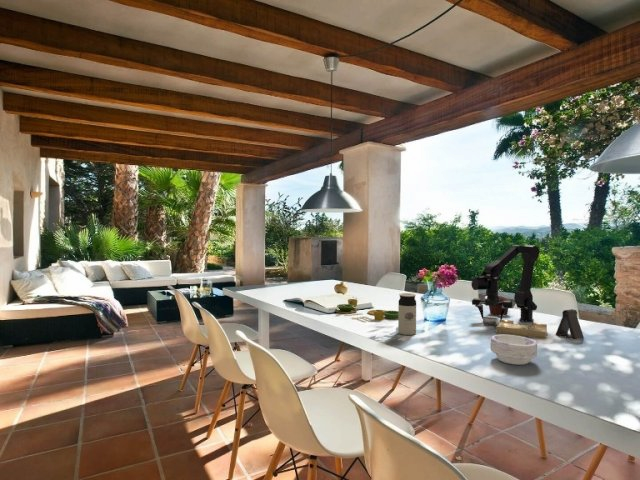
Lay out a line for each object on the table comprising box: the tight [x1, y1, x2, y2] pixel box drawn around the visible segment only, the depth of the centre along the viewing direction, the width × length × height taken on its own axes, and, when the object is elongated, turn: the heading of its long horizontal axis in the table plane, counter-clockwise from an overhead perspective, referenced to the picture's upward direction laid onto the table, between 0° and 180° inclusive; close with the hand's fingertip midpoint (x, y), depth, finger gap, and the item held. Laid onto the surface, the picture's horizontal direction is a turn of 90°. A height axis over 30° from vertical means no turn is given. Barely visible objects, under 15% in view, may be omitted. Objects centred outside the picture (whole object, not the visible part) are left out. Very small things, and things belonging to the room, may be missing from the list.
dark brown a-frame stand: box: [555, 308, 585, 341], centre depth 182 cm, size 9×6×12 cm, turn 26°
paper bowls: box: [490, 334, 538, 366], centre depth 148 cm, size 15×15×8 cm
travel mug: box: [397, 292, 417, 336], centre depth 187 cm, size 8×8×18 cm
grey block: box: [482, 315, 500, 327], centre depth 207 cm, size 10×6×4 cm, turn 149°
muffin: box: [488, 295, 509, 316], centre depth 232 cm, size 12×11×10 cm
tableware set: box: [334, 298, 398, 323], centre depth 233 cm, size 41×28×6 cm
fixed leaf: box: [495, 319, 548, 339], centre depth 189 cm, size 14×20×4 cm
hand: (491, 319), depth 210 cm, fingers open, 8 cm apart
